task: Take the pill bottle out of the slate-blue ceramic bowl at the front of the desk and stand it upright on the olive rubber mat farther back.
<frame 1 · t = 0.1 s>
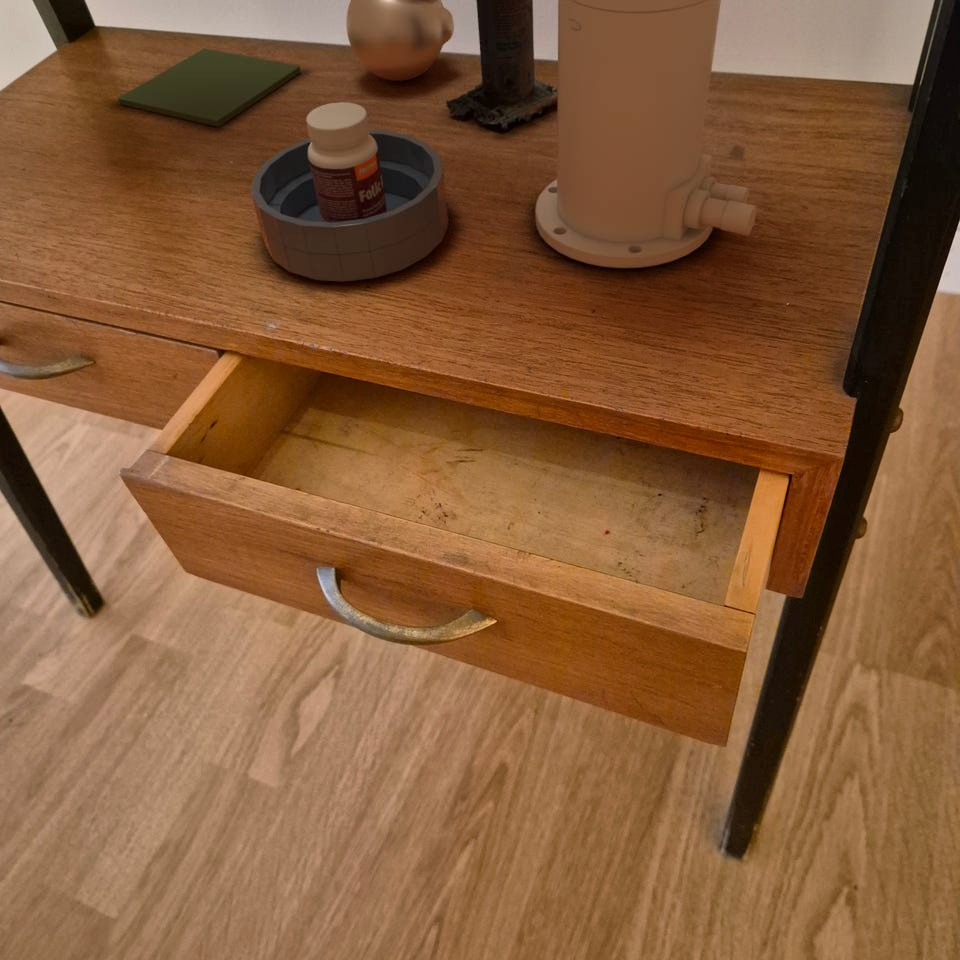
post on square base: (510, 109, 76), on the table
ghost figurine: (406, 78, 82), on the table
bowl: (357, 231, 64), on the table
pill bottle: (357, 230, 64), resting on bowl
mat: (211, 88, 82), on the table
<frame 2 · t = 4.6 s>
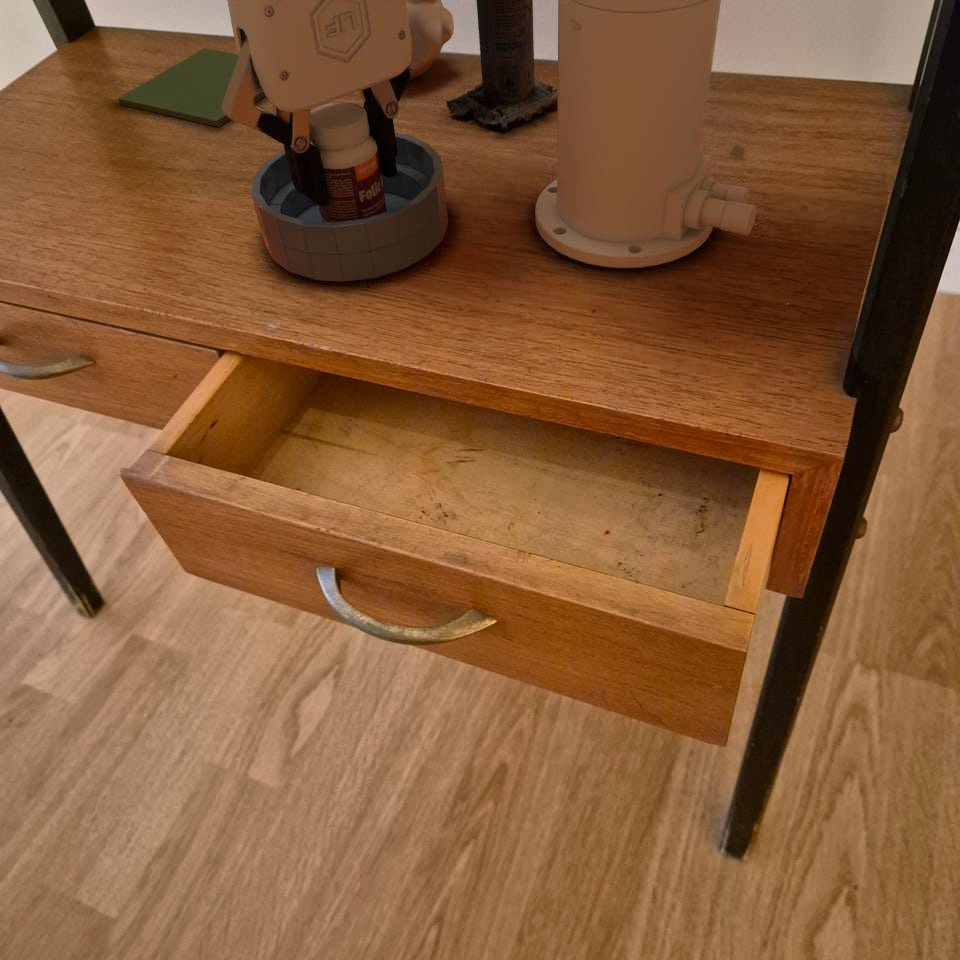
hand: (348, 181, 61), 4 cm above the table, tool pointing down, fingers closed on pill bottle, 4 cm apart
pill bottle: (357, 230, 64), resting on bowl, touching gripper
everything else where it was.
when the fingers open (4 cm above the table, at t = 12.5 s): pill bottle stays where it is, resting on mat.
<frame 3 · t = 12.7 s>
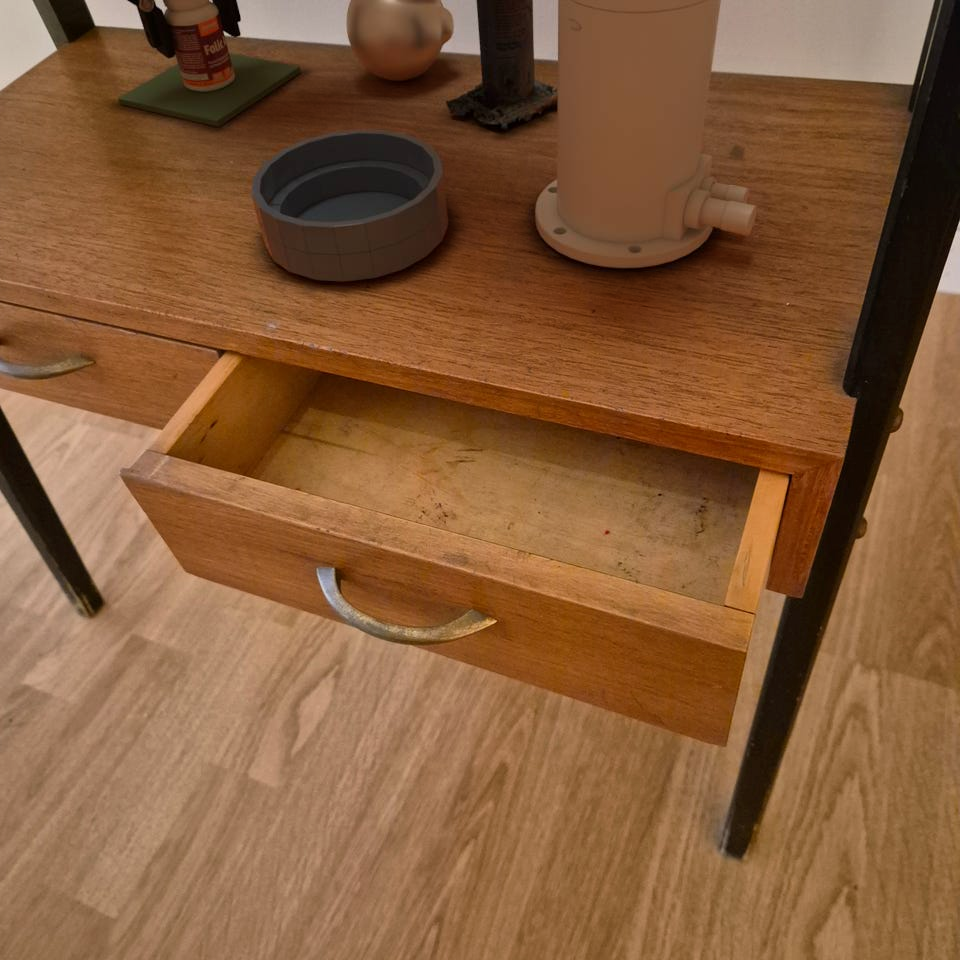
hand: (198, 40, 79), 4 cm above the table, tool pointing down, fingers open, 5 cm apart
pill bottle: (211, 84, 82), resting on mat
everything else where it was.
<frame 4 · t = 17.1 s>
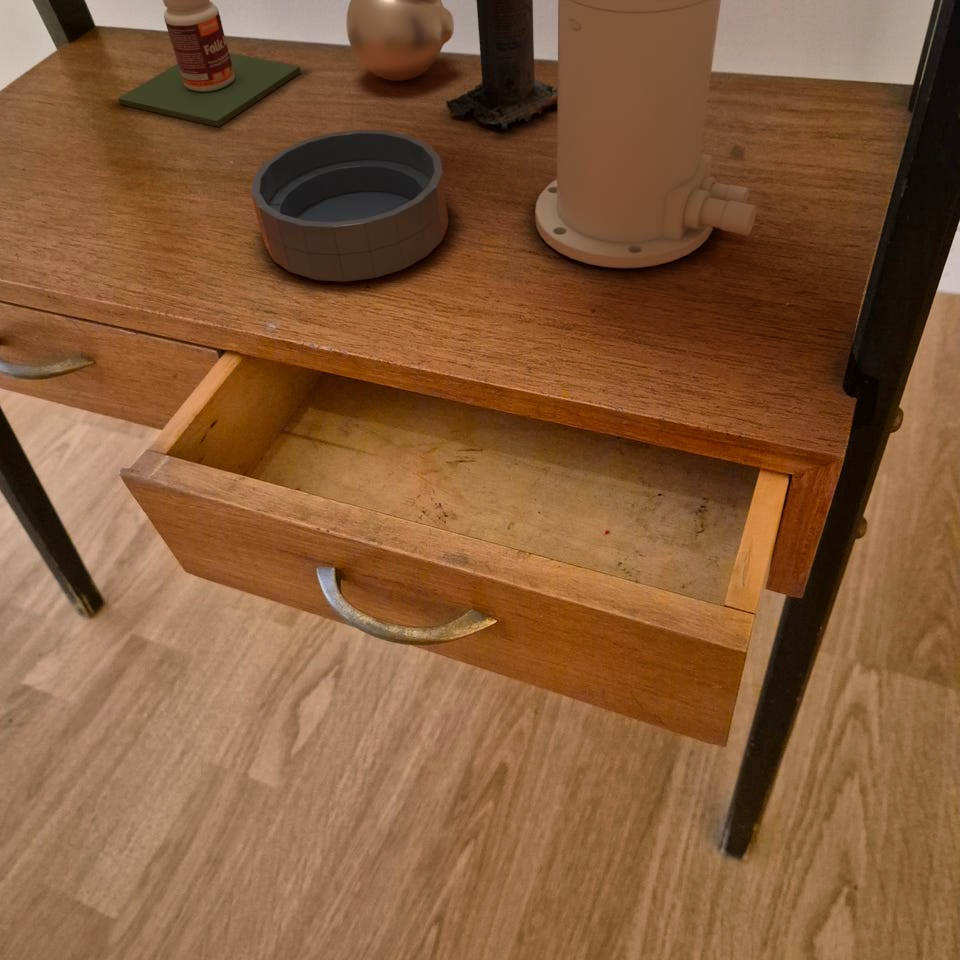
nothing on the table moved.
at the end: pill bottle 0.1 cm off-centre on the mat, point 0.4 cm above the mat's base; pill bottle tilted 0°; pill bottle touching mat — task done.
